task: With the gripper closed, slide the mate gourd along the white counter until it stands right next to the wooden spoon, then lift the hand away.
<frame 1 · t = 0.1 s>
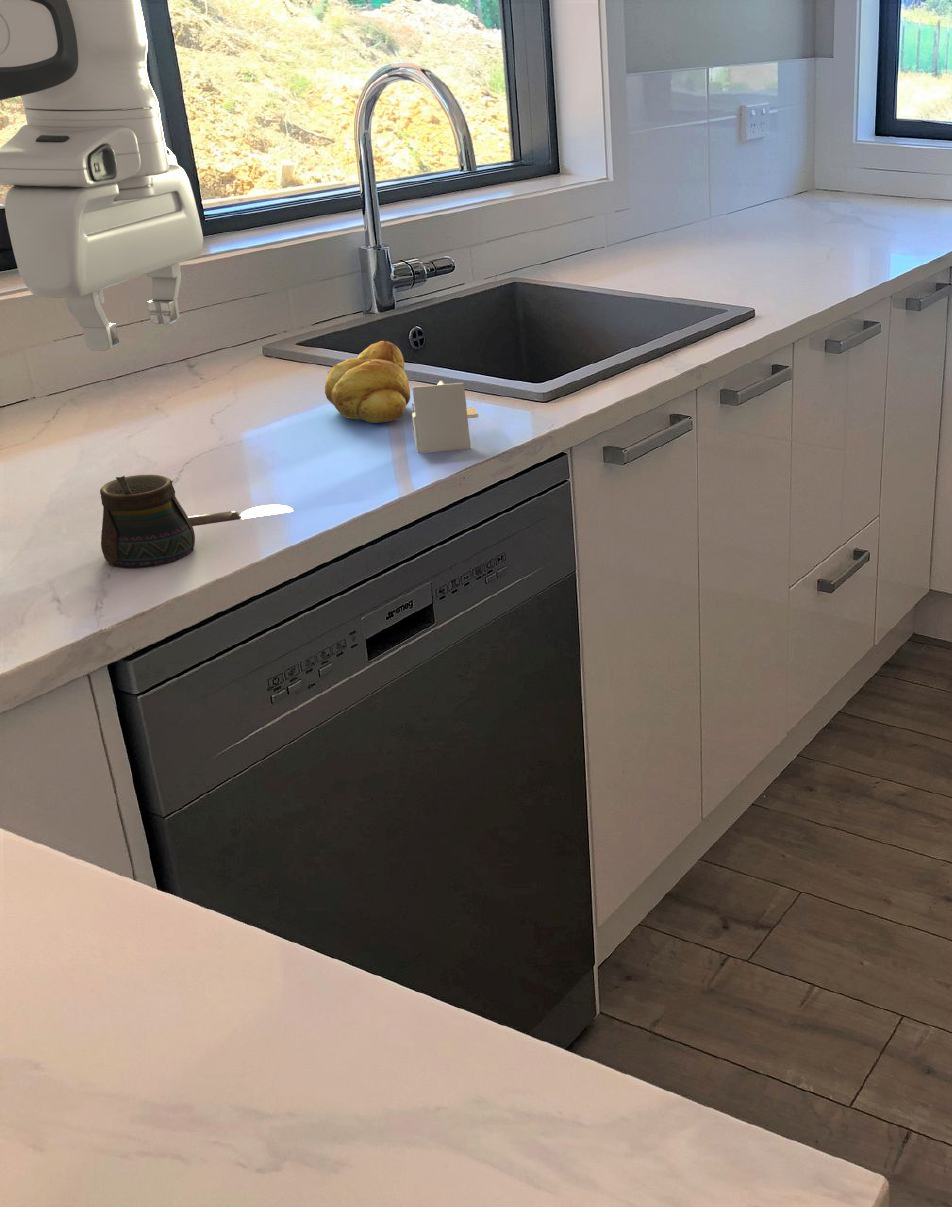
hand: (136, 335, 103), 21 cm above the countertop, tool pointing down, fingers open, 8 cm apart
mate gourd: (155, 574, 113), on the countertop
bread roll: (372, 417, 159), on the countertop
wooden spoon: (199, 532, 122), on the countertop
architectural model: (443, 450, 147), on the countertop
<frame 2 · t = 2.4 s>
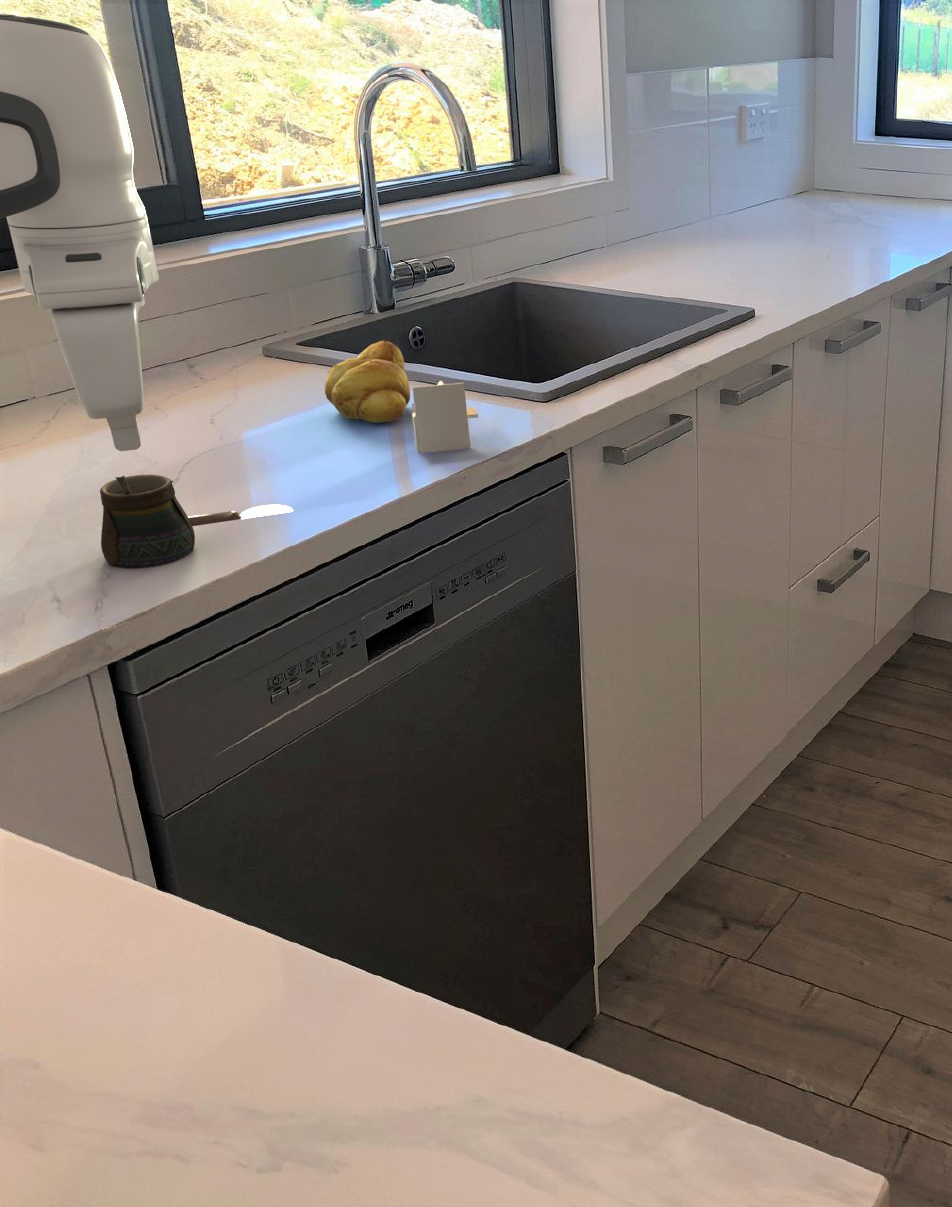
hand: (128, 445, 100), 14 cm above the countertop, tool pointing down, fingers closed
nothing on the countertop moved.
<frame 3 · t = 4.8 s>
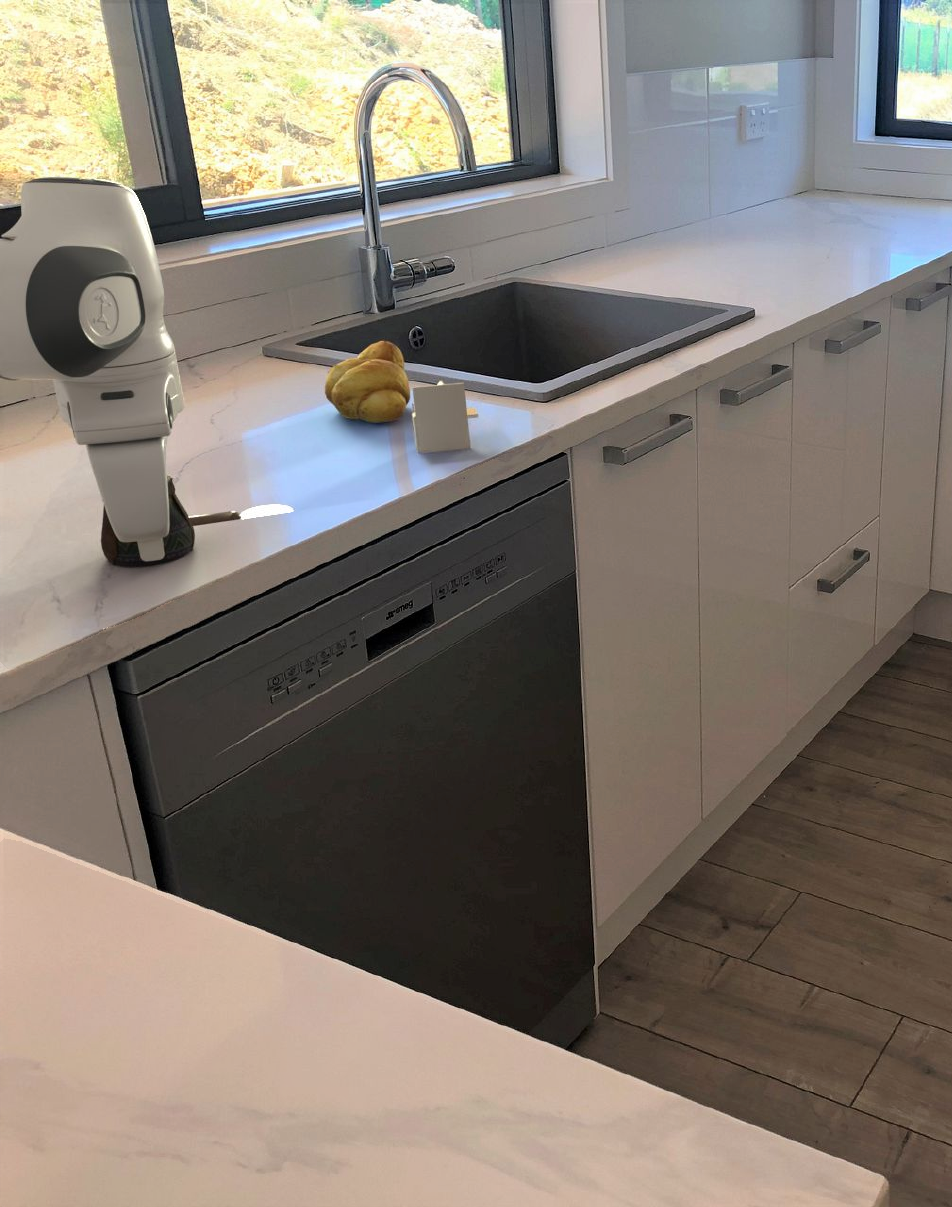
hand: (153, 555, 108), 3 cm above the countertop, tool pointing down, fingers closed
mate gourd: (155, 573, 113), on the countertop, touching gripper
everything else where it was.
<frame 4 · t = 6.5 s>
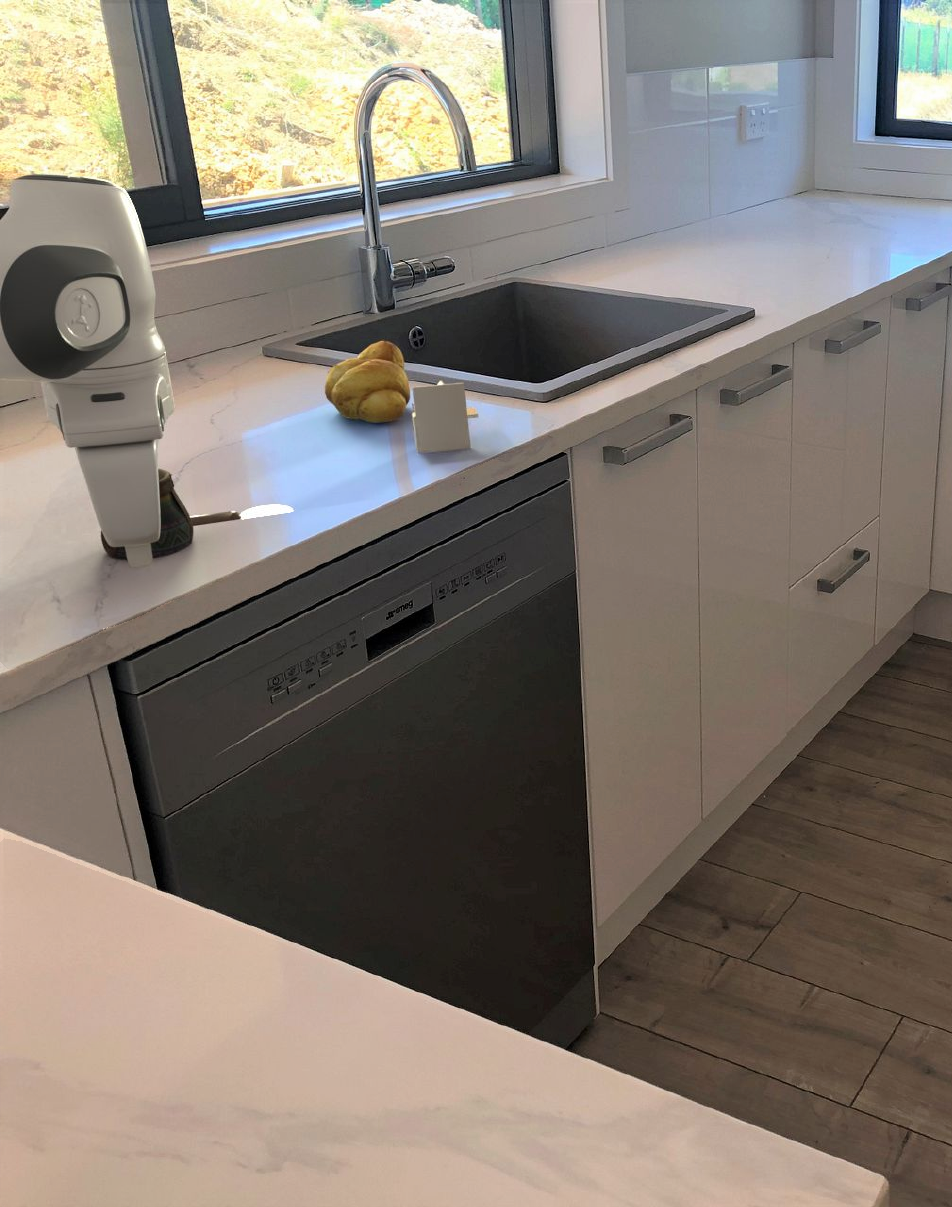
hand: (140, 560, 106), 4 cm above the countertop, tool pointing down, fingers closed
mate gourd: (154, 566, 115), on the countertop
everything else where it was.
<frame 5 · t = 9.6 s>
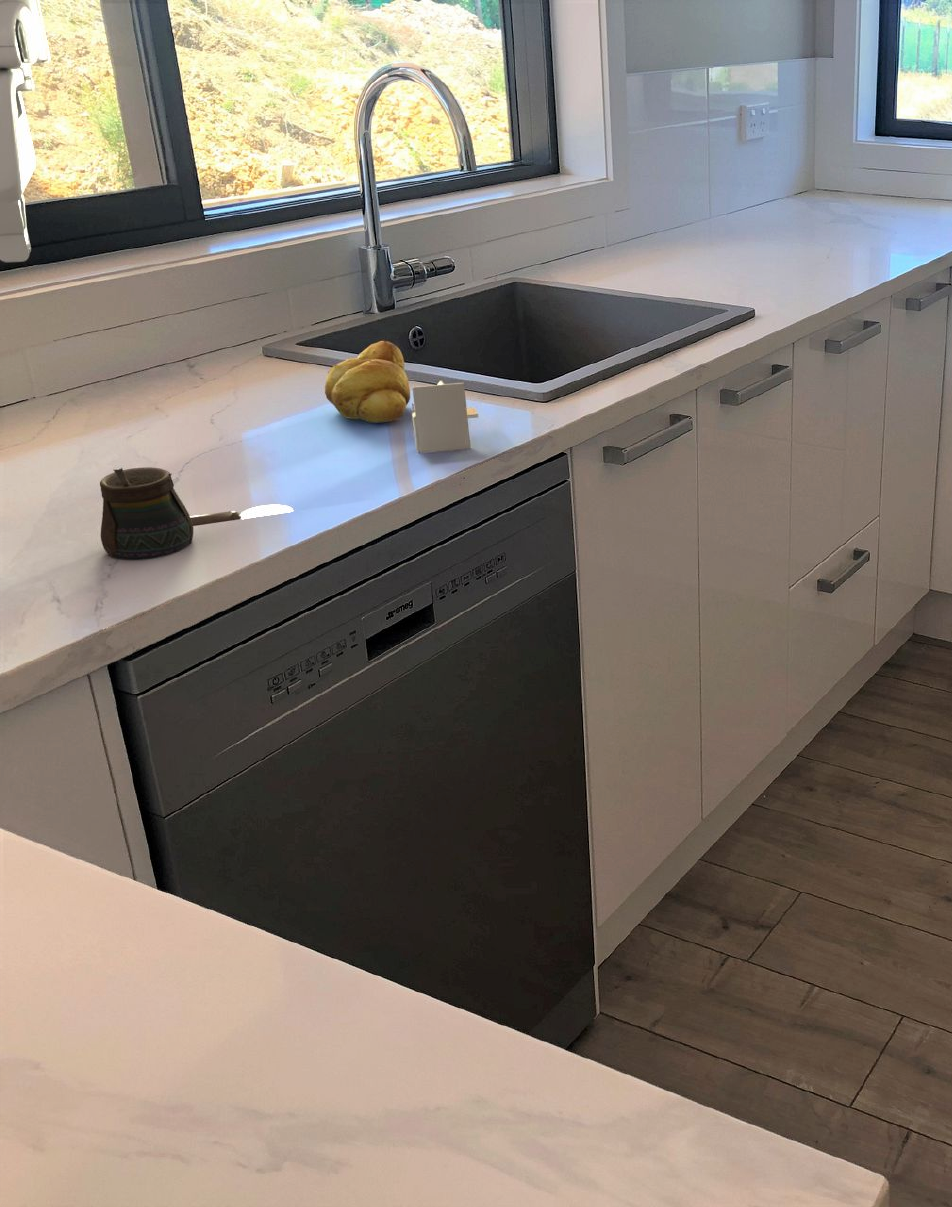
hand: (16, 258, 87), 29 cm above the countertop, tool pointing down, fingers closed
nothing on the countertop moved.
at the end: mate gourd 7.9 cm from the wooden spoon (horizontally); mate gourd moved 2.2 cm from its start; mate gourd tilted 0° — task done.
